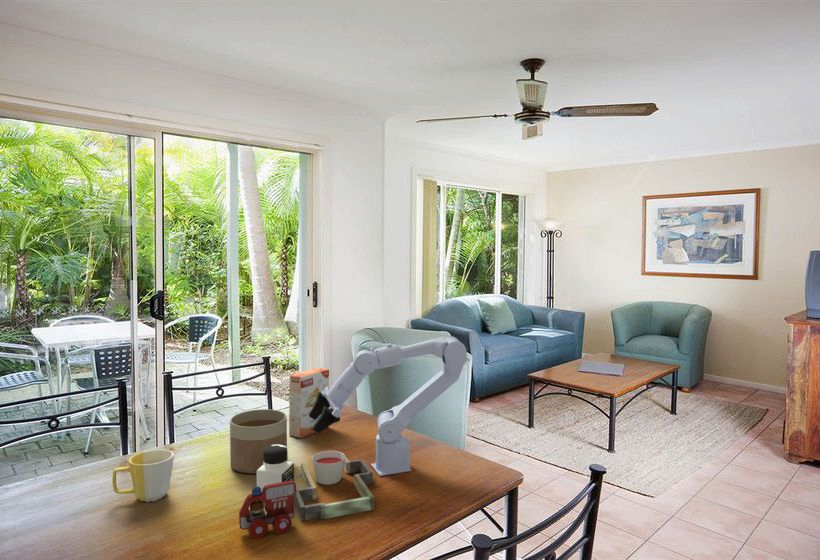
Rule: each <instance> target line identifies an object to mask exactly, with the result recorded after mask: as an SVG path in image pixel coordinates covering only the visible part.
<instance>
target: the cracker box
mask: <svg viewBox="0 0 820 560" xmlns="http://www.w3.org/2000/svg"><path fill="white" fill-rule="evenodd" d="M288 383H289V388H288V392H289V395H288V396H289V399H288V403H289V404H288V406H289V407H288V409H289V411H288V413H289V414H288V418H289V419H288V421H289V422H288V435H289V436H290V437H294V438H296V439H303V438H305V437H308V436H311V435H313V434H316V433H317V432H316V431H314V430H313V427H314V425H315V424H316V422H317V421H318V419H319V417H320V416H321V415H320V416H319V417H318V418H316V419H315V420H314V419H312V418H311V417H309V414H310V412H311V410H312V408H313V406H314V404H315V401H316V398H317V394H318V392H321V393H322V392H323V391H324V390H325V388H326V387H327V386H328V387H330V369H329V368H328V369H327V368H322V367H315V368H311V369H307V370H303V371H299V372H296V373H292V374H289V382H288ZM327 428H329V426H328V427H327ZM327 428H326V429H327Z"/></svg>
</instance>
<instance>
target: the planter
mask: <svg viewBox="0 0 820 560" xmlns="http://www.w3.org/2000/svg"><path fill="white" fill-rule="evenodd" d="M276 444H278V445H284V446H286V447H287V448H288V419H287V413H286V412H284V411H281V410H278V409H271V408H270V409H268V408H267V409H266V408H264V409H253V410H252V409H251V410H247V411H243V412H240V413H239V412H238V413H236V414H235V415H233V416H232V417H231V418H230V419H229V445H230V448H229V449H230V450H229V451H230V467H231V469H233V470H234V471H236V472H239V473H243V474H257V470H258V469H259V468H260V467H261V466H262V465H264V464H263V450H264V449H265V448H266V447H268V446H271V445H276Z"/></svg>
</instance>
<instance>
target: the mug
mask: <svg viewBox="0 0 820 560" xmlns="http://www.w3.org/2000/svg"><path fill="white" fill-rule="evenodd" d="M174 455H175V453H174V452H173V451H172V450H169V449H163V448H161V449H160V448H159V449H158V448H157V449H150V450H145V451H141V452H139V453H136V454H134V455H132V456H131V457H129V459H128V466H121V467H120V466H119V467H116V468H114V469H113V472H112V476H111V477H112V479H111V480H112V488H113V491H114V493H115V494H116V495H117V494H118V495H125V494H134V495H135V497H136V499H138V500H139V501H140V502H143V501H145V502H144V503H151V502H150V501H152V502H155V501H159V500H161V499H162V497H163V498H164V497H165V495H167V493H168V492H169V490H170V485H171V478H172V472H173V466H174V458H175V456H174ZM123 471H124V472H128V473H130V476H131V482H132V486H133V488H132V487H131V488H128V489H119V488H118V486H117V473H118V472H123ZM158 499H159V500H158Z"/></svg>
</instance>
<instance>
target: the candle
mask: <svg viewBox="0 0 820 560" xmlns="http://www.w3.org/2000/svg"><path fill="white" fill-rule="evenodd" d="M345 457H346V455H345V453H343V452H341V451H338V450H322V451H319V452H316V453H315V454H313V455H312V456H311V461H312V466H313V472H314V476H315V477H314V478H315V481H316V482H317V484H320V485H324V486H329V485H335V484H338V483H339V482H340V481H341V479H342V477H343V472H344V469H343V467H344V462H345Z"/></svg>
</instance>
